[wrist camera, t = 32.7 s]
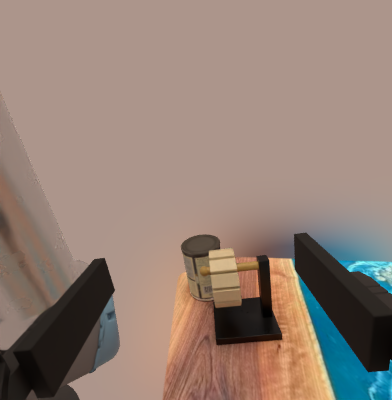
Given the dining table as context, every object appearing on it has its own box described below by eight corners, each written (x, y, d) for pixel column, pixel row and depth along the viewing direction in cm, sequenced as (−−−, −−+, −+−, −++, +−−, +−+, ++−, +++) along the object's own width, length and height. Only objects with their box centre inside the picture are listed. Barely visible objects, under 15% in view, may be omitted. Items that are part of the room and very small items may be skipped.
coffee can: (209, 271, 65) (203, 230, 61) (233, 287, 57) (228, 241, 53) (182, 288, 60) (173, 244, 56) (204, 308, 51) (195, 259, 48)
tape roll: (217, 320, 40) (209, 272, 36) (214, 281, 50) (208, 241, 47) (243, 318, 39) (238, 268, 36) (234, 279, 50) (230, 238, 47)
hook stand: (209, 345, 42) (198, 281, 38) (208, 307, 52) (198, 252, 47) (282, 339, 41) (279, 272, 37) (267, 301, 51) (263, 244, 46)
